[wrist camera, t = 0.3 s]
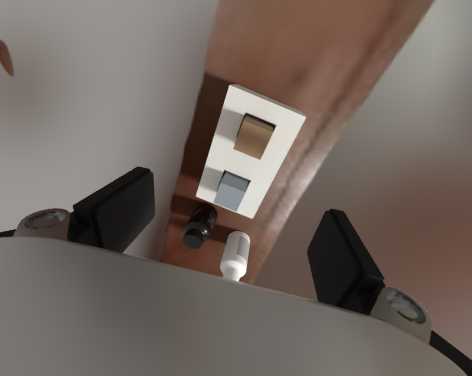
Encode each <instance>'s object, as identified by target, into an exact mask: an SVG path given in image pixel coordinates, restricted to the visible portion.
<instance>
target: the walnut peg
mask: <svg viewBox="0 0 472 376" xmlns="http://www.w3.org/2000/svg"><path fill="white" fill-rule="evenodd" d="M272 134H273V124H270V123H268V122H266V121H263V120H261V119H258V118H256V117H254V116H251V115H249V114H248V115H247V116H246V118H245V119H244V121H243V123H242V126H241V129H240V131H239V134H238V137H237V140H236V142H235V145H234V148H233V149H234V150H237V151H239V152H242V153H244V154H247V155H249V156H252V157H254V158H256V159H259V160H261V157H262V155H263V153H264V151H265V149H266V147H267V144H268V142H269V140H270V138H271V136H272Z"/></svg>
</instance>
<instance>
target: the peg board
mask: <svg viewBox="0 0 472 376" xmlns="http://www.w3.org/2000/svg"><path fill="white" fill-rule="evenodd" d="M248 114H249V115H251V116H254V117H256V118H258V119H261V120H263V121H266V122H268V123H270V124H273V134H272V136H271V138H270V140H269V142H268V144H267V147H266V149H265V151H264V153H263V155H262V157H261V160H259V159H256V158H254V157H252V156H249V155H247V154H244V153H242V152H239V151H237V150H234V149H233V148H234V145H235V142H236V140H237V137H238V134H239V131H240V129H241V126H242V123H243V121H244V119H245V118H246V116H247V115H248ZM305 119H306V116H305V115H304V114H303V113H302V112H301V111H299V110H297V109H295V108H292V107H290V106H288V105H285V104H283V103H280V102H278V101H276V100H273V99H271V98H269V97H266V96H264V95H261V94H259V93H257V92H254V91H252V90H250V89H247V88H245V87H242V86H240V85H238V84H233V85H229V88H228V91H227V95H226V98H225V101H224V105H223V108H222V111H221V115H220V118H219V121H218V125H217V128H216V131H215V135H214V138H213V141H212V144H211V148H210V151H209V154H208V158H207V161H206V164H205V168H204V171H203V174H202V178H201V181H200V184H199V188H198V191H197V194H196V197H199V198H201V199H204V200H206V201H209V202H211V203H213V202H214V199H215V197H216V194H217V191H218V189H219V186H220V183H221V181H222V179H223V177H224V175H225V173H226V171H229V172H231V173H233V174H236V175H238V176H241V177H243V178H246V179H248V184H247V188H246V192H245V194H244V197H243V199H242V201H241V203H240V205H239V207H238V210H237V213H239V214H242V215H244V216H247V217H249V218H252V219H253V217H254V215H255V213H256V211H257V209H258V207H259V205H260V204H261V202H262V200H263V198H264V196H265V194H266V192H267V190H268V188H269V187H270V185H271V183H272V181H273V179H274V177H275V175H276V173H277V171H278V170H279V168H280V166H281V164H282V162H283V160H284V158H285V156H286V154H287V153H288V151H289V149H290V147H291V145H292V143H293V141H294V139H295V137H296V136H297V134H298V132H299V130H300V128H301V126H302V124H303V122H304V121H305ZM214 204H215V203H214ZM216 205H218V204H216ZM219 206H220V205H219ZM221 207H223V206H221ZM224 208H225V207H224ZM226 209H228V208H226ZM229 210H231V209H229ZM232 211H233V210H232ZM234 212H236V211H234Z"/></svg>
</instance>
